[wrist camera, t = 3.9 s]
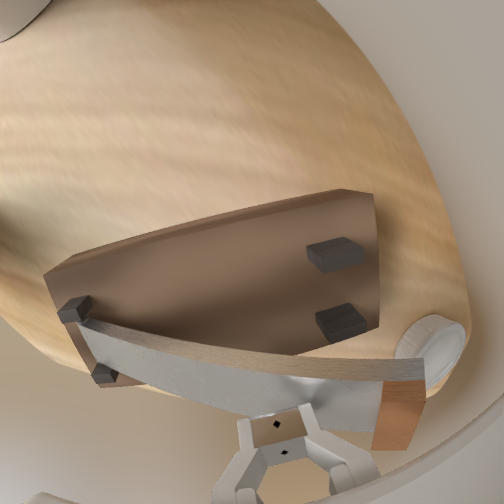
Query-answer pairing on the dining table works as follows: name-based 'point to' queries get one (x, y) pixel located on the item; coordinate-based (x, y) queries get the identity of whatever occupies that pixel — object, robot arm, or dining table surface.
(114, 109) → the dining table surface
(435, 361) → the ramekin
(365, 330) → the base
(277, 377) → the clamp bar
